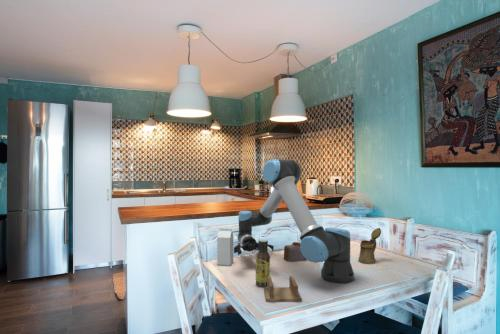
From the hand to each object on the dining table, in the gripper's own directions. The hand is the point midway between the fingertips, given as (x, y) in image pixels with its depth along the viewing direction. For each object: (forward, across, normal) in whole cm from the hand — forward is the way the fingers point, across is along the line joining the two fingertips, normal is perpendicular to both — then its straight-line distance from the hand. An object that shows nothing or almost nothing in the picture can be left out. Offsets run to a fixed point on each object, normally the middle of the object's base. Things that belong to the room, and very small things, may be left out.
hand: (257, 253), depth 152 cm
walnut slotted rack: (+23, -5, -11) cm, 26 cm away
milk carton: (-25, +12, -12) cm, 30 cm away
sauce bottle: (+10, 0, -12) cm, 15 cm away
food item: (-24, -28, -12) cm, 39 cm away
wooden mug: (-12, -67, -12) cm, 69 cm away
